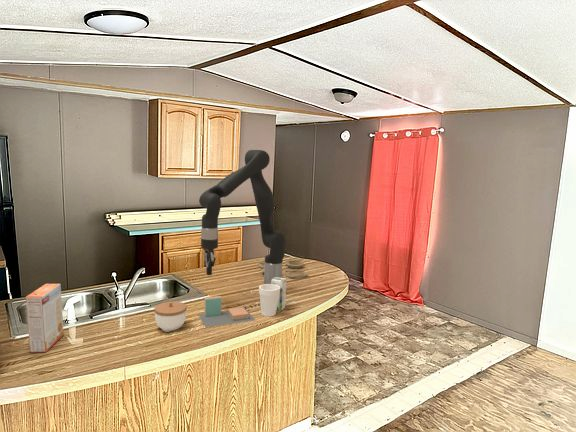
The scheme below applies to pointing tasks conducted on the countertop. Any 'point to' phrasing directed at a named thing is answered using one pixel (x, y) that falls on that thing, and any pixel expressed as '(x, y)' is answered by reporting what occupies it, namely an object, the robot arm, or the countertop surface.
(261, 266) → the tableware set
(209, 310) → the tile
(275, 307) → the foam cup
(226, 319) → the mat
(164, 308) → the lidded bowl
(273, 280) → the syrup box
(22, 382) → the countertop surface
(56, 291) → the cracker box
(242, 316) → the tile
